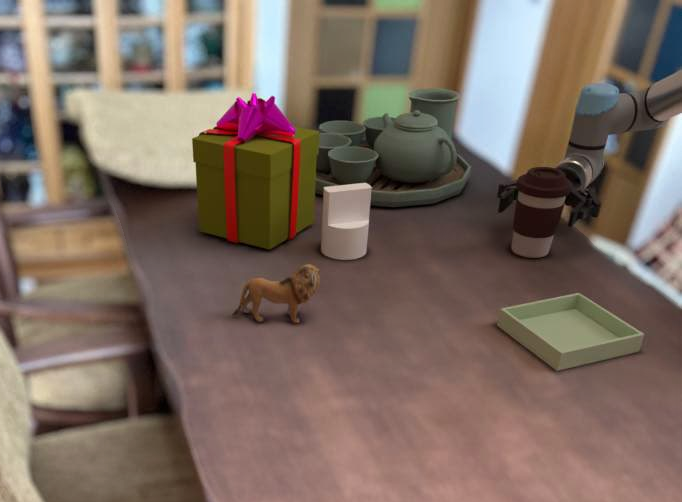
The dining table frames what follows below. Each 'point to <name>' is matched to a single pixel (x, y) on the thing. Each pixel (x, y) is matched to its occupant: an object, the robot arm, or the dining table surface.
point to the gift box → (255, 175)
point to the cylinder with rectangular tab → (345, 221)
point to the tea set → (397, 153)
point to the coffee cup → (538, 210)
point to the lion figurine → (281, 291)
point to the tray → (569, 331)
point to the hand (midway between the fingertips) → (535, 212)
